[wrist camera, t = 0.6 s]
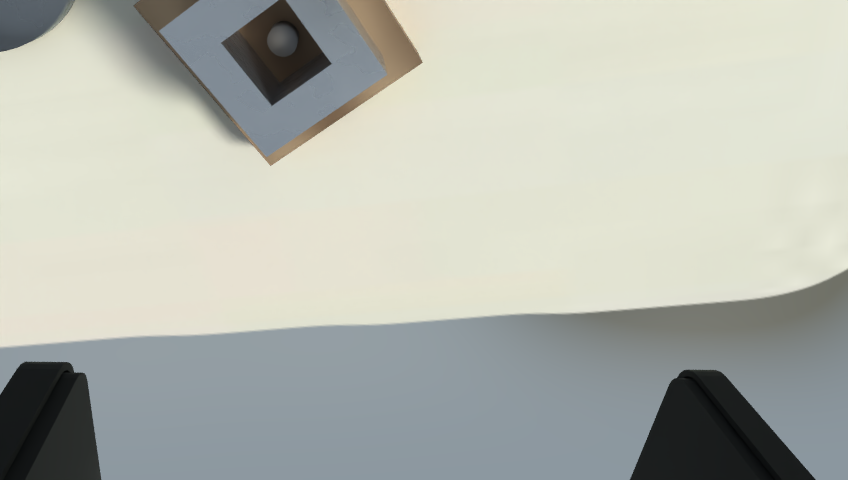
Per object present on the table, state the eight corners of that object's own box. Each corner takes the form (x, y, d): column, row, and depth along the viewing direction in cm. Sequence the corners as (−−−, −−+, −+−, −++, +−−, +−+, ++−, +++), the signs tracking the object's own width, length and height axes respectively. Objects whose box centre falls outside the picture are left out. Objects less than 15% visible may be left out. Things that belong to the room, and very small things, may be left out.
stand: (305, -125, 30) (300, -127, 26) (417, 51, 34) (425, 69, 31) (147, -3, 31) (123, 11, 28) (274, 149, 36) (267, 176, 33)
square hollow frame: (296, -74, 28) (290, -69, 25) (382, 54, 32) (387, 74, 28) (180, 15, 30) (158, 31, 26) (274, 129, 33) (266, 157, 29)
